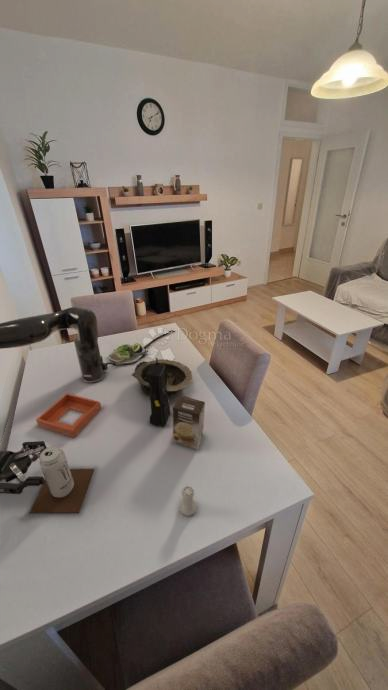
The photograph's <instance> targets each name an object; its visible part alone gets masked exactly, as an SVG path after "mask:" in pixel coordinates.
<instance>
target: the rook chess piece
mask: <svg viewBox="0 0 388 690" xmlns="http://www.w3.org/2000/svg"><path fill="white" fill-rule="evenodd" d="M181 496H182V499H181V501H180V503H179V512H180V513H181V514H182V515H184V516H187V517H188V516H189V517H190V516H192V515H193V514H195V513H196V510H197V504H196V501H195V500H194V499H193V498H194V496H195V490H194V488H193V487H192V486H191V485H189V486H188V485H185V487H183V488H182V490H181Z"/></svg>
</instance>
